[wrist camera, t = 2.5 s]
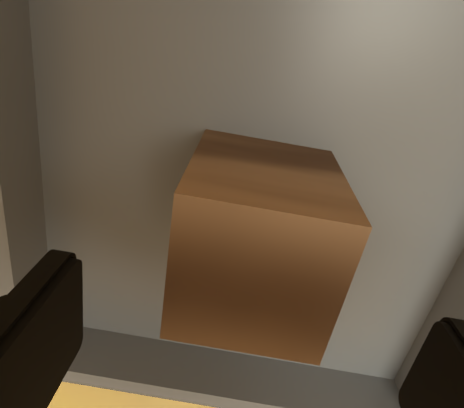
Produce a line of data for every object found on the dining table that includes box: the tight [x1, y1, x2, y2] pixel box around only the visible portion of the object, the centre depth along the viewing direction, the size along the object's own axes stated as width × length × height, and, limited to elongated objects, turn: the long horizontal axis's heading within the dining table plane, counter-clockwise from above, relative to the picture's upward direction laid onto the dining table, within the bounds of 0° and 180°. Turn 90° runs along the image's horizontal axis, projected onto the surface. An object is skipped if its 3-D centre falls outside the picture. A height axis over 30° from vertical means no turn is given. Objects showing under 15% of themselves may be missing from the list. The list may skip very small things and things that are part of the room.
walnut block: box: [160, 129, 372, 366], centre depth 13 cm, size 5×5×6 cm
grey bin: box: [0, 0, 464, 408], centre depth 15 cm, size 20×20×4 cm
